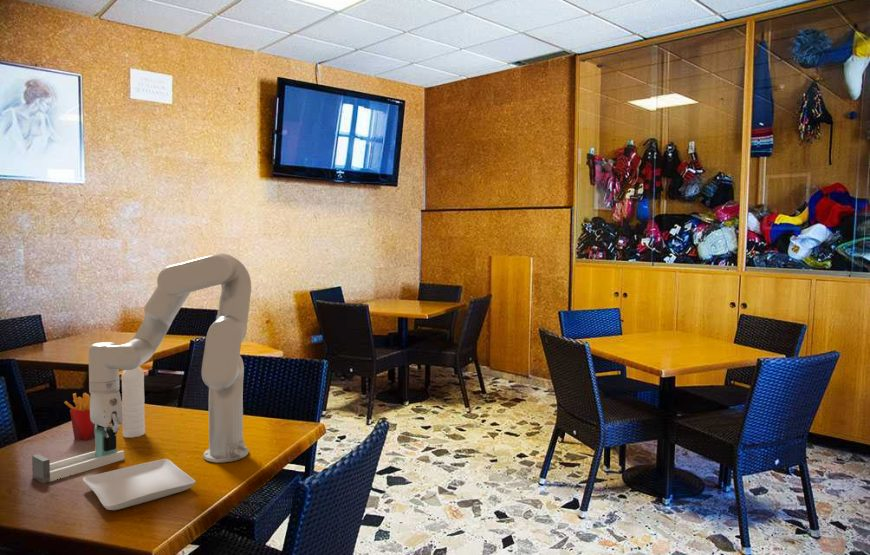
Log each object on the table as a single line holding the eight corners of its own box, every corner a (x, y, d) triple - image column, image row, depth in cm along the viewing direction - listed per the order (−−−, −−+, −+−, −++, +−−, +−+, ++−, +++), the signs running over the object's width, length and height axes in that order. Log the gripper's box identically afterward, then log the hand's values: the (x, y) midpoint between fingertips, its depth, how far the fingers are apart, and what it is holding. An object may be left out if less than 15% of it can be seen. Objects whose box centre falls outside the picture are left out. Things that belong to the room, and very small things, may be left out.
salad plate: (197, 493, 150) (197, 480, 149) (105, 520, 135) (105, 505, 134) (167, 468, 165) (166, 456, 164) (81, 490, 150) (80, 477, 150)
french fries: (88, 433, 192) (87, 388, 191) (107, 436, 189) (106, 390, 188) (63, 442, 183) (62, 394, 182) (82, 445, 181) (81, 397, 180)
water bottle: (142, 437, 189) (141, 360, 187) (120, 438, 187) (118, 361, 185) (148, 428, 197) (147, 355, 195) (127, 430, 195) (125, 356, 194)
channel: (124, 459, 170) (123, 439, 170) (43, 483, 153) (43, 461, 152) (112, 454, 174) (112, 434, 173) (32, 477, 156) (32, 455, 156)
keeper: (116, 455, 169) (116, 428, 169) (102, 459, 166) (101, 431, 165) (109, 452, 172) (109, 425, 171) (95, 456, 168) (94, 429, 168)
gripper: (133, 387, 166) (134, 450, 167) (103, 378, 175) (104, 438, 177) (105, 393, 160) (107, 458, 161) (76, 383, 169) (78, 445, 170)
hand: (105, 447), depth 169 cm, fingers closed on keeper, 4 cm apart
